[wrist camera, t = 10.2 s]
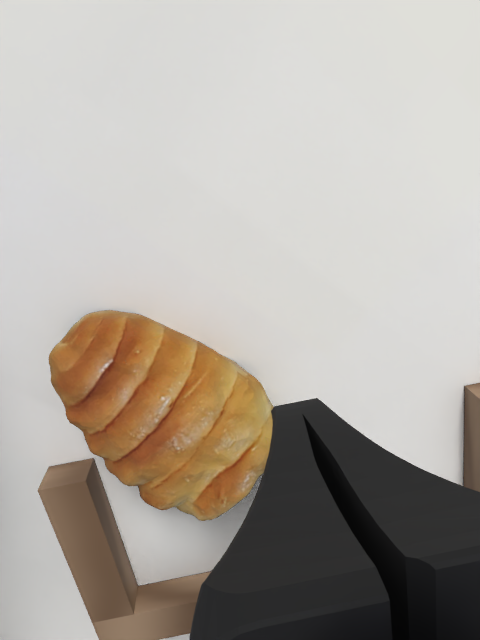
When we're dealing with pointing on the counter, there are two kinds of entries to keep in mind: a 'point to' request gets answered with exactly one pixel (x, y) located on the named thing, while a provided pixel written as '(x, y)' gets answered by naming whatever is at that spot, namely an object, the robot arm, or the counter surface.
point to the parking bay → (112, 561)
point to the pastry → (164, 411)
